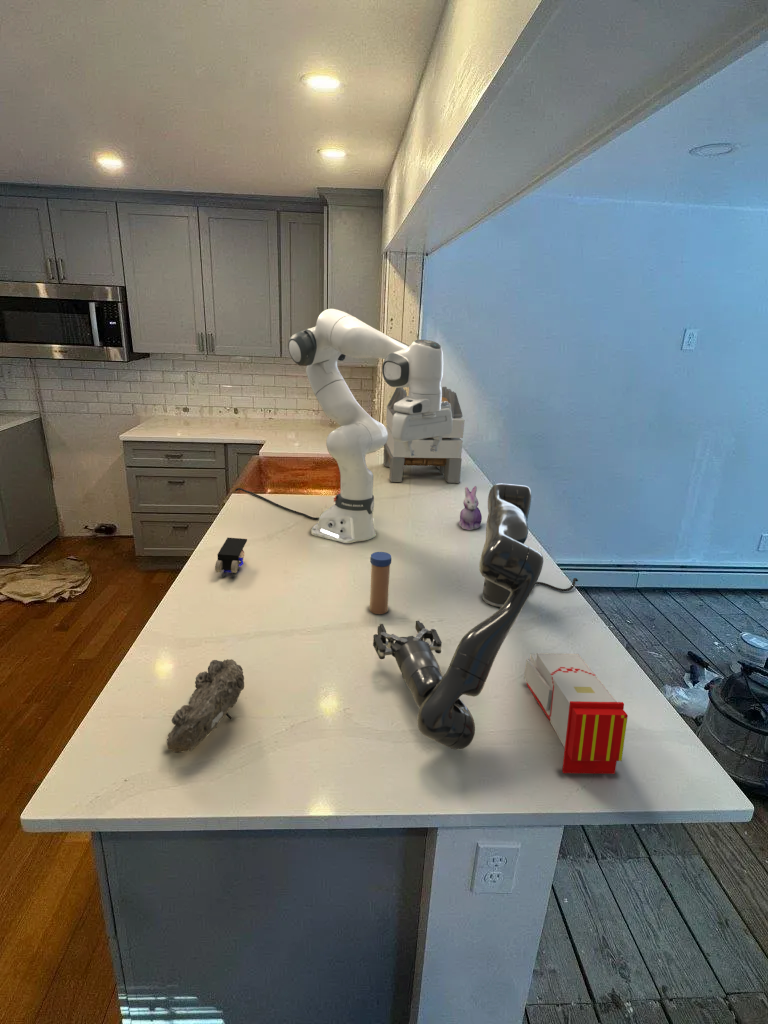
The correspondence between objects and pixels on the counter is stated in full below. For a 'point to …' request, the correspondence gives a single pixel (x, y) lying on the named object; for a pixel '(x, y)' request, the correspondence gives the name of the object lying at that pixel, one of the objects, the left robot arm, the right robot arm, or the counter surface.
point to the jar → (379, 589)
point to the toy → (578, 711)
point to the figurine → (470, 511)
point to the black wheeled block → (230, 556)
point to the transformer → (426, 444)
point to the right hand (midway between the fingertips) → (398, 625)
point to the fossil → (206, 705)
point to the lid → (380, 559)
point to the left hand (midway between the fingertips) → (422, 453)
